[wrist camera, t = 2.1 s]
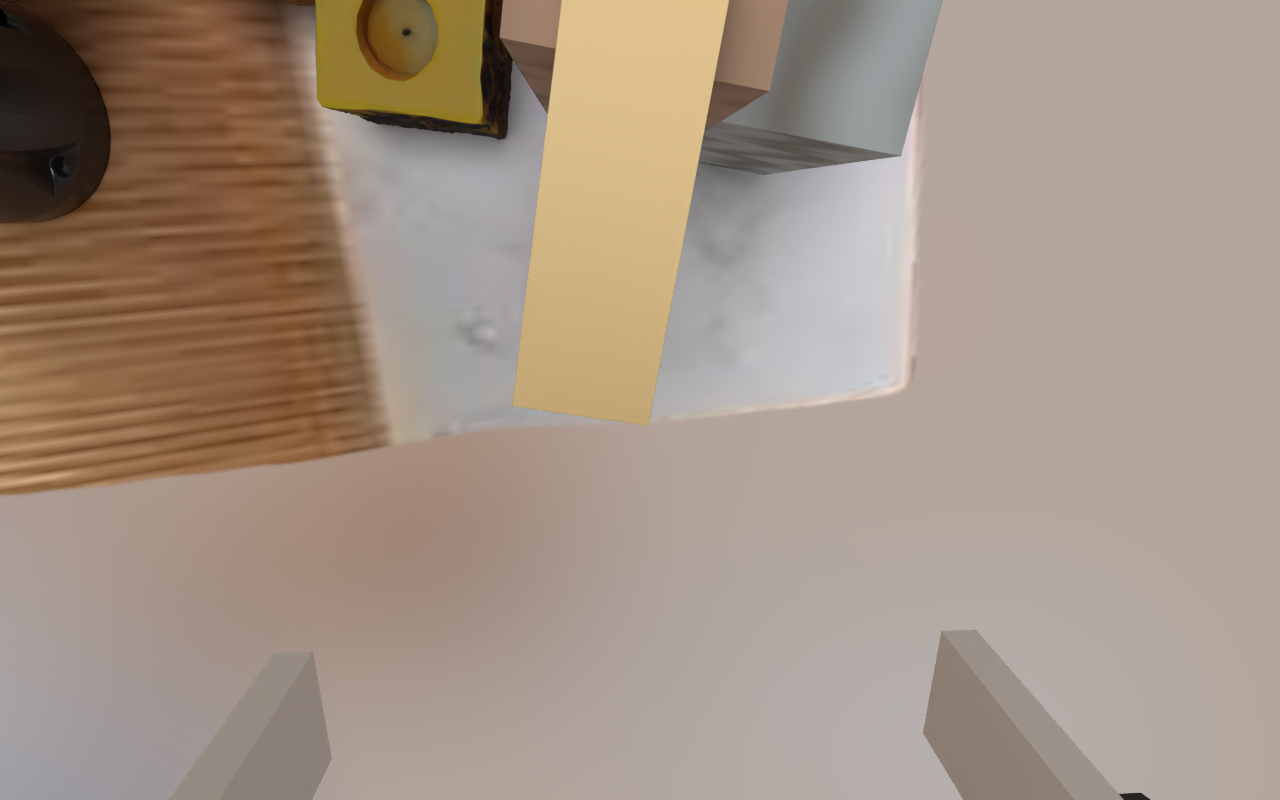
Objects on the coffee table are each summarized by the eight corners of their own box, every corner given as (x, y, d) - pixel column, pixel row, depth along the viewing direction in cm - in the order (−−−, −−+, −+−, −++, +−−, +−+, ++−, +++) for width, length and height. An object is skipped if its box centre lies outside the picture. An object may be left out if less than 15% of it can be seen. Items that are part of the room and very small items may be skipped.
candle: (516, -10, 46) (494, -64, 36) (509, 141, 49) (488, 128, 39) (369, -31, 45) (307, -92, 35) (372, 125, 48) (315, 107, 38)
